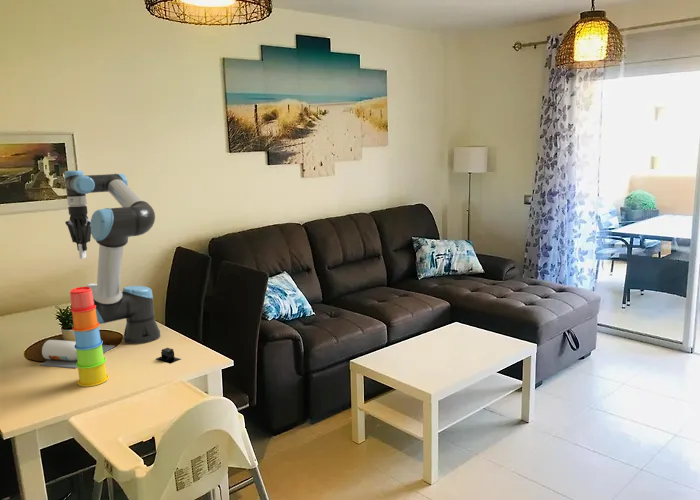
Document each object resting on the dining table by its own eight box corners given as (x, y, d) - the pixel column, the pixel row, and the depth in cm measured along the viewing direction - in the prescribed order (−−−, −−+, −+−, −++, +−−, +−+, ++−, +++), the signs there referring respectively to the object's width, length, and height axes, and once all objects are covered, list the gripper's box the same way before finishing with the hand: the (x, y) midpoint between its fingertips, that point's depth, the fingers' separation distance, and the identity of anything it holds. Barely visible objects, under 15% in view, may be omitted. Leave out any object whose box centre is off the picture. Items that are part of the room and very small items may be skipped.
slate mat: (115, 346, 237) (115, 345, 237) (75, 368, 214) (75, 367, 214) (82, 344, 241) (82, 343, 241) (40, 365, 218) (39, 364, 218)
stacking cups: (114, 380, 203) (104, 286, 196) (85, 389, 195) (74, 292, 189) (101, 373, 209) (91, 282, 203) (72, 381, 202) (61, 288, 196)
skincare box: (103, 305, 303) (101, 283, 301) (99, 307, 298) (97, 285, 296) (92, 305, 303) (90, 283, 301) (88, 307, 299) (85, 285, 297)
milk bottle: (38, 350, 218) (85, 353, 214) (49, 335, 224) (95, 338, 220) (46, 363, 223) (92, 366, 219) (57, 348, 228) (102, 351, 225)
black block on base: (185, 360, 221) (184, 349, 221) (170, 366, 216) (169, 355, 215) (165, 354, 228) (164, 344, 228) (150, 360, 222) (149, 349, 222)
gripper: (58, 206, 247) (64, 259, 251) (84, 206, 244) (90, 259, 248) (70, 204, 254) (76, 255, 258) (95, 204, 251) (101, 256, 255)
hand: (83, 257), depth 253 cm, fingers closed
